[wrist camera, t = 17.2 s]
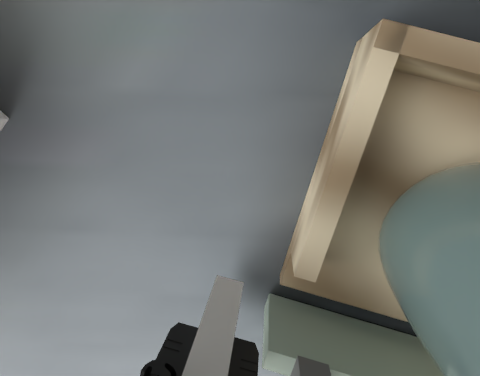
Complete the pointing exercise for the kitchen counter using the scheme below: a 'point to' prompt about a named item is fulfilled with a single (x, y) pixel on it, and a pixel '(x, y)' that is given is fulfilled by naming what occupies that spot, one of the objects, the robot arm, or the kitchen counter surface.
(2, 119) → the tissue box
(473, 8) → the kitchen counter surface
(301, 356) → the gate
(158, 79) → the kitchen counter surface
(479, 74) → the tray
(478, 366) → the cup
